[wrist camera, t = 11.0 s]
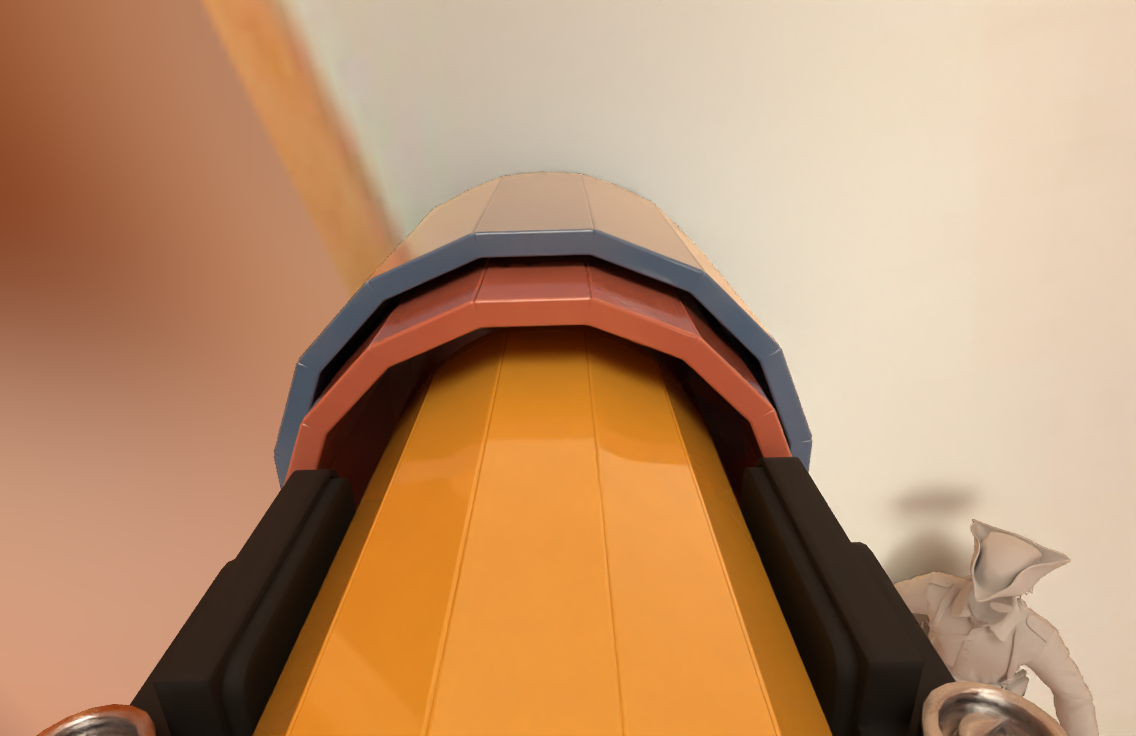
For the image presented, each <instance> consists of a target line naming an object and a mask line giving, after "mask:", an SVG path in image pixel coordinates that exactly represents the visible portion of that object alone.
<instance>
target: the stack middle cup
mask: <svg viewBox="0 0 1136 736" xmlns="http://www.w3.org/2000/svg"><path fill="white" fill-rule="evenodd" d="M558 325H586V326H591V327H594V328H597V329H600V330H603V331H605V332H608V333H611V334H614V335H616V336H619V337H622V338H625V339H627V340H630V341H631V342H633V343H635V344H636V345H638V346H640V347H641V348H643V349H645V350H646V351H648V352H649V353H650V354H652V355H653V356H654V357H655V358H656V359H658V358H660V359H658V360H659V361H660V362H661V363H663V364H664V365H665V366H666V365H667V363H668V365H667V366H666V367H667V368H669V369H668V370H670V372H671V373H672V374H673V375H674V374H675V373H676V371H677V373H679V374H677V373H676V374H677V375H676V374H675V375H674V376H676V378H677V379H678V380H679V381H681V382H680V384H681V385H682V384H683V385H682V386H683V388H684V389H685V391H686V392H687V394H688V396H689V398H690V399H691V401H692V403H693V404H694V406H695V407H696V408H697V409H698V410H699V411H700V413H701V415H702V417H703V420H704V422H705V425H706V427H707V430H708V432H709V434H710V437H711V439H712V442H713V444H714V447H715V449H716V451H717V454H718V456H719V459H720V461H721V464H722V466H723V469H724V471H725V473H726V476H727V478H728V481H729V483H730V486H731V488H732V491H733V493H734V495H735V498H736V500H737V503H738V505H739V508H741V496H742V484H743V475H744V470H745V468H746V467H756V463H757V460H758V459H759V458H762V457H792V455H791V452H790V449H789V447H788V444H787V441H786V438H785V436H784V433H783V430H782V428H781V425H780V422H779V419H778V417H777V414H776V411H775V409H774V408H773V406H772V405H771V403H770V401H769V400H768V398H767V397H766V395H765V394H764V392H763V391H762V389H761V388H760V386H759V385H758V383H757V381H756V380H755V378H754V377H753V375H752V374H751V372H750V371H749V369H748V368H747V366H746V365H745V363H744V361H743V360H742V358H741V357H740V355H739V354H738V352H737V351H736V349H735V348H734V346H733V345H732V343H731V341H730V340H729V338H728V337H727V335H726V334H725V332H724V331H723V329H722V328H721V326H720V325H719V323H718V321H717V320H716V318H715V317H714V316H713V315H712V314H711V313H710V312H709V311H708V310H707V309H706V308H705V307H704V306H703V305H702V304H701V303H700V302H699V301H698V300H696V299H695V298H694V297H693V296H692V295H691V294H690V293H689V292H687V291H684V290H682V289H679V288H676V287H674V286H671V285H668V284H666V283H663V282H660V281H658V280H655V279H652V278H650V277H647V276H644V275H642V274H639V273H637V272H634V271H631V270H629V269H626V268H623V267H621V266H618V265H615V264H613V263H610V262H607V261H605V260H602V259H600V258H597V257H594V256H592V255H568V256H532V257H495V258H479V259H477V260H475V261H472V262H470V263H468V264H466V265H463V266H461V267H459V268H457V269H455V270H452V271H450V272H448V273H446V274H443V275H441V276H439V277H437V278H434V279H432V280H430V281H428V282H426V283H423V284H421V285H419V286H417V287H414V288H412V289H410V290H408V291H405V292H403V293H401V294H399V295H397V296H394V297H393V298H392V299H391V300H390V302H389V303H388V304H387V306H386V307H385V308H384V310H383V311H382V312H381V314H380V315H379V317H378V318H377V319H376V321H375V322H374V323H373V325H372V326H371V327H370V329H369V330H368V331H367V333H366V334H365V336H364V337H363V338H362V340H361V341H360V342H359V344H358V345H357V346H356V348H355V349H354V350H353V352H352V353H351V355H350V356H349V357H348V359H347V360H346V361H345V363H344V364H343V365H342V367H341V368H340V369H339V371H338V372H337V374H336V375H335V376H334V378H333V379H332V380H331V382H330V383H329V384H328V386H327V387H326V388H325V390H324V391H323V392H322V394H321V395H320V397H319V398H318V399H317V401H316V402H315V403H314V405H313V406H312V407H311V409H310V410H309V411H308V413H307V414H306V416H305V417H304V418H303V421H302V422H301V424H300V427H299V431H298V435H297V438H296V442H295V446H294V450H293V453H292V457H291V461H290V464H289V468H288V472H287V476H286V479H285V483H286V482H287V480H288V479H289V477H290V476H291V474H292V473H293V472H294V471H296V470H319V469H334V470H335V471H336V472H337V474H338V476H339V478H347V479H348V480H349V481H350V483H351V487H352V493H353V499H354V504H355V510H356V511H357V509H358V507H359V505H360V502H361V500H362V498H363V496H364V494H365V492H366V489H367V487H368V485H369V483H370V481H371V479H372V476H373V474H374V472H375V470H376V468H377V466H378V464H379V461H380V459H381V457H382V455H383V453H384V451H385V448H386V446H387V444H388V442H389V440H390V438H391V435H392V433H393V431H394V429H395V427H396V425H397V422H398V420H399V419H400V417H401V416H402V415H403V413H404V412H405V411H406V409H407V408H408V407H409V405H410V403H411V401H412V399H413V398H414V396H415V394H416V393H417V391H418V389H419V388H420V386H421V384H422V383H423V382H424V381H425V380H426V378H427V377H428V376H429V375H430V374H431V372H432V371H433V370H434V369H435V368H436V367H437V366H438V365H439V364H441V363H442V362H443V361H444V360H445V359H446V358H447V357H448V356H450V355H451V354H453V353H454V352H455V351H457V350H458V349H460V348H461V347H463V346H464V345H466V344H468V343H470V342H472V341H474V340H476V339H478V338H480V337H482V336H484V335H486V334H489V333H492V332H495V331H498V330H501V329H503V328H508V327H522V326H558ZM644 346H645V347H644ZM650 348H651V350H650ZM653 349H654V350H655V352H654V350H653ZM431 352H432V353H431ZM651 352H652V353H651ZM654 353H655V354H654ZM657 354H659V355H657ZM662 354H663V356H662ZM665 354H666V355H667V356H666V355H665ZM668 355H669V356H668ZM414 356H415V357H414ZM438 356H439V357H438ZM658 356H660V357H658ZM663 357H665V358H663ZM672 357H673V358H676V359H675V360H673V358H672ZM668 358H669V359H668ZM671 358H672V359H671ZM665 359H666V360H667V361H666V360H665ZM664 360H665V361H664ZM668 360H669V361H668ZM671 360H672V361H671ZM678 360H679V363H678V362H677V361H678ZM682 360H683V362H682ZM414 361H415V362H414ZM663 361H664V362H663ZM669 362H670V363H669ZM673 362H674V363H675V365H676V364H679V365H676V366H675V365H674V363H673ZM676 362H677V363H676ZM684 362H686V363H687V364H686V363H684ZM419 363H420V364H419ZM682 363H684V365H683V364H682ZM671 365H672V367H673V370H672V367H671ZM682 365H683V366H682ZM413 366H414V367H413ZM421 366H422V367H421ZM668 366H669V367H668ZM678 366H679V367H678ZM686 366H687V367H686ZM681 367H686V368H687V370H686V368H681ZM674 368H675V369H676V370H675V369H674ZM677 368H678V369H677ZM679 368H680V369H679ZM678 370H679V371H678ZM680 370H682V371H683V370H684V371H683V372H682V371H680ZM418 372H419V374H418ZM681 372H682V373H681ZM684 372H686V373H684ZM681 374H682V375H681ZM683 374H684V376H683ZM678 375H679V376H678ZM681 376H682V377H681ZM679 377H680V378H681V380H680V378H679ZM685 377H686V378H685ZM685 379H686V380H685ZM682 380H685V381H682ZM285 483H284V485H285Z"/></svg>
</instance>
